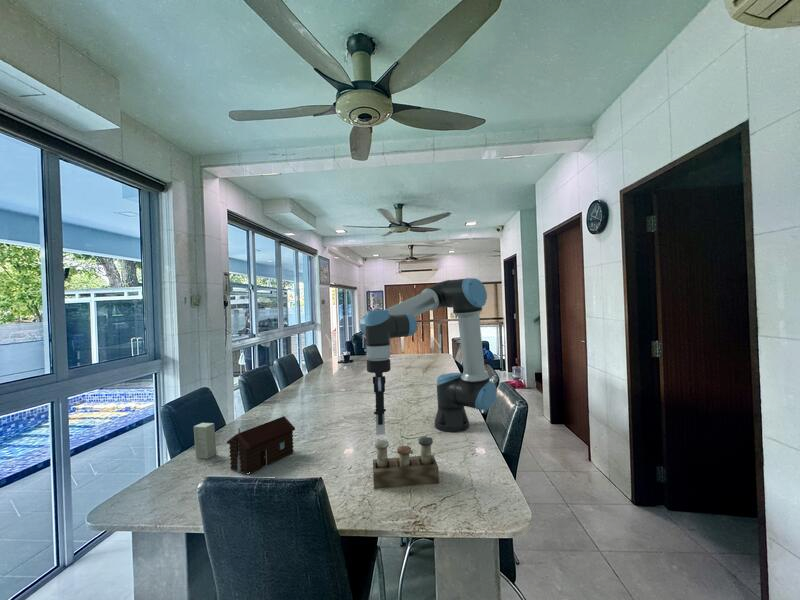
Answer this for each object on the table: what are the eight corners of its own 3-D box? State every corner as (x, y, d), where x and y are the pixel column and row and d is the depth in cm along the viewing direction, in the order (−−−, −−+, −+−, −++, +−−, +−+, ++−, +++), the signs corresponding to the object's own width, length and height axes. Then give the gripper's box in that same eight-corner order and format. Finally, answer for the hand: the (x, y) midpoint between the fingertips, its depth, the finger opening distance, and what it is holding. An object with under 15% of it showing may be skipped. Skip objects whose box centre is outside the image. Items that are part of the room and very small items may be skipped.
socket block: (433, 469, 120) (433, 454, 120) (439, 483, 112) (438, 467, 112) (373, 474, 119) (372, 459, 119) (373, 488, 110) (373, 472, 110)
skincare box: (216, 454, 140) (215, 423, 140) (207, 459, 136) (206, 427, 136) (203, 453, 142) (202, 422, 142) (194, 458, 138) (193, 426, 138)
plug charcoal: (432, 461, 118) (431, 436, 118) (434, 467, 114) (433, 441, 114) (418, 462, 118) (417, 437, 118) (420, 468, 113) (419, 442, 113)
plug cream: (389, 464, 117) (388, 439, 117) (390, 470, 113) (389, 445, 113) (375, 465, 117) (374, 440, 117) (375, 471, 112) (374, 446, 112)
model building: (249, 476, 121) (247, 431, 121) (227, 469, 127) (226, 426, 127) (296, 453, 139) (294, 413, 139) (275, 447, 145) (273, 410, 145)
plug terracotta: (411, 470, 118) (410, 445, 118) (412, 476, 113) (411, 450, 113) (397, 471, 117) (396, 446, 117) (398, 477, 113) (397, 452, 113)
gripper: (366, 356, 121) (368, 427, 121) (366, 362, 108) (368, 442, 108) (389, 355, 121) (391, 426, 121) (391, 361, 108) (393, 440, 108)
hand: (380, 433), depth 114 cm, fingers closed
